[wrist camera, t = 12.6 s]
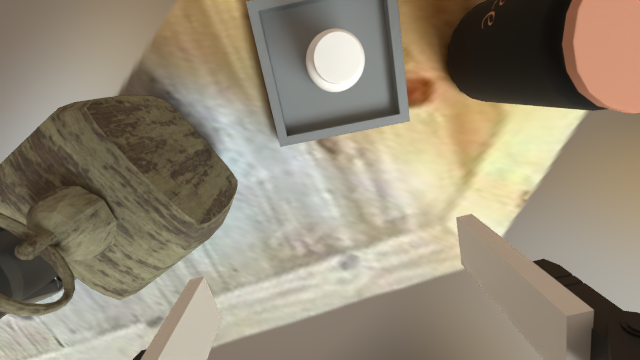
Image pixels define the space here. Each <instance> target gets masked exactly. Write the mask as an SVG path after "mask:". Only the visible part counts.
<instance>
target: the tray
mask: <svg viewBox="0 0 640 360" xmlns="http://www.w3.org/2000/svg"><path fill="white" fill-rule="evenodd" d="M246 5H247V9H248V13H249V17H250V22H251V26H252V30H253V34H254V38H255V42H256V47H257V51H258V55H259V59H260V63H261V68H262V72H263V76H264V80H265V84H266V89H267V93H268V97H269V101H270V105H271V109H272V114H273V118H274V122H275V126H276V130H277V135H278V139H279V143H280V147H282V146H287V145H292V144H297V143H302V142H307V141H312V140H317V139H322V138H327V137H332V136H338V135H343V134H348V133H353V132H358V131H363V130H368V129H373V128H378V127H383V126H388V125H393V124H398V123H403V122H408V121H410V118H409V108H408V98H407V89H406V79H405V69H404V59H403V50H402V40H401V30H400V20H399V11H398V1H397V0H251V1H247V2H246ZM334 28H339V29H344V30H346V31H349V32H350V33H352V34H353V35H354V36H355V37H356V38H357V39H358V40H359V41H360V43H361V45H362V47H363V50H364V54H365V65H364V69H363V72H362V74H361V76H360V78H359V79H358V81H357V82H356V83H355V84H354V85H353V86H352V87H350V88H348V89H346V90H344V91H340V92H329V91H325V90H323V89H321V88H319V87H318V86H316V85H315V84H314V83H313V81H312V80H311V78H310V76H309V74H308V71H307V68H306V54H307V50H308V47H309V45H310V43H311V42H312V40H313V39H314V38H315V37H316V36H317V35H318V34H320V33H321V32H323V31H325V30H328V29H334Z"/></svg>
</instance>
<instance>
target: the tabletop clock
mask: <svg viewBox="0 0 640 360" xmlns="http://www.w3.org/2000/svg"><path fill="white" fill-rule="evenodd" d="M236 190H237V179H236V178H235V176H234V175H233V173H232V172H231V170H230V169H229V168H228V167H227V165H226V164H225V163H224V162H223V161H222V159H221V158H220V157H219V156H218V155H217V154H216V152H215V151H214V150H213V149H212V148H211V147H210V145H209V144H208V143H207V142H206V141H205V140H204V139H203V138H202V136H201V135H200V134H199V133H198V132H197V131H196V130H195V129H194V128H193V127H192V126H191V125H190V124H189V122H188V121H187V120H186V119H185V118H184V117H183V116H182V115H181V114H180V113H179V112H178V111H177V110H176V109H175V108H174V107H173V106H171V105H170V104H169V103H168V102H167V101H165V100H163V99H160V98H157V97H152V96H138V95H124V96H115V97H108V98H100V99H93V100H87V101H80V102H74V103H71V104H68V105H65V106H63V107H60V108H58V109H57V110H56V111H55V112H54V113H53V114H52V115H50V116H49V117H48V118H47V119H46V120H45V121H44V122H43V123H42V124H41V125H40V126H39V127H38V128H37V129H36V130H35V131H34V132H33V133H32V134H31V135H30V136H29V137H28V138H27V139H26V140H24V142H22V143H21V144H20V145H19V146H18V147H17V148H16V149H15V150H14V151H13V152H12V153H11V154H10V155H9V156H8V157H7V158H6V159H5V160H4V161H3V162H2V163H1V164H0V227H2V228H4V229H6V230H8V231H10V232H12V233H13V234H14V235H16V236H17V237H18V238H20V239H21V240H22V241H24V242H22V243H20V244H19V245H17V246H16V248H15V255H16V256H17V258H19V259H21V260H32V259H33V258H35V257H37V256H38V255H41V256H42V257H43V258H44V259H45V260H46V261H47V262H49V263H50V264H51V265H52V267H53V268H54V269H55V271H56V272H57V274H58V275H59V277H60V278H61V280H62V283H63V287H64V290H65V291H64V293H63V296H62V297H61V298H60V299H59V300H57V301H55V302H52V303H46V304H35V303H24V302H21V301H18V300H15V299H12V298H9V297H6V296H5V295H3V294H1V293H0V312H5V313H9V314H14V315H18V316H41V315H45V314H48V313H51V312H54V311H57V310H59V309H60V308H62V307H64V306H65V305H66V304H67V303H68V302H69V301H70V300H71V299H72V296H73V293H74V291H75V283H74V276H75V277H76V278H77V279H79V280H80V281H82V282H83V283H85V284H86V285H87V286H89V287H90V288H92V289H94V290H96V291H98V292H100V293H102V294H104V295H106V296H109V297H112V298H115V299H118V300H121V299H124V298H126V297H129V296H131V295H133V294H136V293H137V292H138V291H140V290H141V289H143V288H144V287H145V286H147V285H148V284H149V283H151V282H152V281H153V280H155V279H156V278H157V277H159V276H160V275H161V274H163V273H164V272H165V271H167V270H168V269H169V268H171V267H172V266H173V265H175V264H176V263H177V262H179V261H180V260H181V259H183V258H184V257H185V256H187V255H188V254H189V253H191V252H192V251H193V250H195V249H196V248H197V247H199V246H200V245H201V244H203V243H204V242H205V241H206V240H208V239H209V238H210V237H211V236H212V235H213V234H214V233H215V231H216V230H217V229H218V228H219V227H220V226H221V225H222V224H223V222H224V220H225V218H226V216H227V214H228V212H229V210H230V207H231V204H232V201H233V199H234V196H235V193H236Z"/></svg>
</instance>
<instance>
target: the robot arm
mask: <svg viewBox="0 0 640 360" xmlns="http://www.w3.org/2000/svg"><path fill="white" fill-rule="evenodd" d="M456 219H457V228H458V237H459V245H460V254H461V263H462V265H463V266H464V267H465V269H466V270H467V271H468V272H469V273H470V274H471V276H472V277H473V278H474V279H475V280H476V281H477V283H479V285H480V286H481V287H482V288H483V289H484V291H485V292H486V293H487V294H488V295H489V297H490V298H491V299H492V300H493V301H494V302H495V304H496V305H497V306H498V307H499V308H500V309H501V311H502V312H503V313H504V314H505V315H506V316H507V318H508V319H509V320H510V321H511V322H512V323H513V325H514V326H515V327H516V328H517V329H518V330H519V332H520V333H521V334H522V335H523V336H524V337H525V339H526V340H527V341H528V342H529V343H530V344H531V346H532V347H533V348H534V349H535V350H536V351H537V352H538V354H539V355H540V356H541V357H542V358H543V360H640V313H637V312H629V311H623V310H622V309H620V308H619V307H617V306H616V305H615V304H613V303H612V302H610V301H609V300H608V299H606V298H605V297H603V296H602V295H601V294H599V293H598V292H596V291H595V290H594V289H592V288H591V287H589V286H588V285H587V284H585V283H583V282H582V281H581V280H579V279H578V278H577V277H575V276H573V275H572V274H571V273H570V272H568V271H567V270H566V269H564V268H563V267H561V266H560V265H558V264H555V263H553V262H550V261H548V260H545V259H541V260H537V261H531V260H530V259H528V258H527V257H526V256H525V255H523V254H522V253H521V252H519V251H518V250H517V249H516V248H514V247H513V246H512V245H510V244H509V243H508V242H507V241H505V240H504V239H503V238H502V237H500V236H499V235H498V234H497V233H495V232H494V231H493V230H491V229H490V228H489V227H488V226H486V225H485V224H484V223H483V222H481V221H480V220H479V219H477V218H476V217H475V216H474V215H472V214H469V215H465V216H461V217H456ZM22 242H24V241H22V240H21V239H20V238H18V237H17V236H16V235H14V234H13V233H12V232H10V231H8V230H6V229H4V228H2V227H0V293H1V294H3V295H5V296H6V297H9V298H12V299H15V300H18V301H21V302H24V303H36V302H38V301H41V300H43V299H46V298H48V297H50V296H53V295H55V294H56V293H58V292H60V291H61V290H63V289H64V287H63V283H62V280H61V278H60V277H59V275H58V274H57V272H56V271H55V269H54V268H53V267H52V265H51V264H50V263H49V262H47V261H46V260H45V259H44V258H43V257H42V256H41V255H38V256H37V257H35V258H33V259H32V260H21V259H19V258H17V256H16V255H15V248H16V246H17V245H19V244H20V243H22ZM75 279H76V277H75V276H74V280H75ZM6 314H9V313H5V312H0V319H1V318H2V317H3V316H5V315H6ZM221 321H222V317H221V315H220V312H219V310H218V308H217V305H216V303H215V301H214V298H213V296H212V294H211V291H210V289H209V287H208V284H207V282H206V280H205V277H200V278H196V279H192V280H190V281H189V282H188V284H187V286H186V287H185V289H184V290H183V292H182V294H181V295H180V297H179V299H178V300H177V302H176V303H175V305H174V307H173V308H172V310H171V311H170V313H169V315H168V316H167V318H166V319H165V321H164V323H163V324H162V326H161V327H160V329H159V331H158V332H157V334H156V336H155V337H154V339H153V340H152V342H151V344H150V345H149V347H148V348H147V349H146V350H142V351H141V352H140V353H139V354H138V355H137V356H136V357H135V358H134V359H133V360H207V358H208V355H209V352H210V350H211V347H212V344H213V342H214V339H215V336H216V334H217V331H218V328H219V326H220V323H221Z"/></svg>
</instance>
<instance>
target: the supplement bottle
mask: <svg viewBox="0 0 640 360" xmlns="http://www.w3.org/2000/svg"><path fill="white" fill-rule="evenodd" d="M364 65H365V54H364V50H363V47H362V45H361V43H360V41H359V40H358V39H357V38H356V37H355V36H354V35H353V34H352V33H350V32H349V31H346V30H344V29H339V28H334V29H328V30H325V31H323V32H321V33H320V34H318V35H317V36H316V37H315V38H314V39H313V40H312V42H311V43H310V45H309V47H308V50H307V54H306V68H307V71H308V74H309V76H310V78H311V80H312V81H313V83H314V84H315V85H316V86H318V87H319V88H321V89H323V90H325V91H329V92H340V91H344V90H346V89H348V88H350V87H352V86H353V85H354V84H355V83H356V82H357V81H358V79H359V78H360V76H361V74H362V72H363V69H364Z"/></svg>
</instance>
